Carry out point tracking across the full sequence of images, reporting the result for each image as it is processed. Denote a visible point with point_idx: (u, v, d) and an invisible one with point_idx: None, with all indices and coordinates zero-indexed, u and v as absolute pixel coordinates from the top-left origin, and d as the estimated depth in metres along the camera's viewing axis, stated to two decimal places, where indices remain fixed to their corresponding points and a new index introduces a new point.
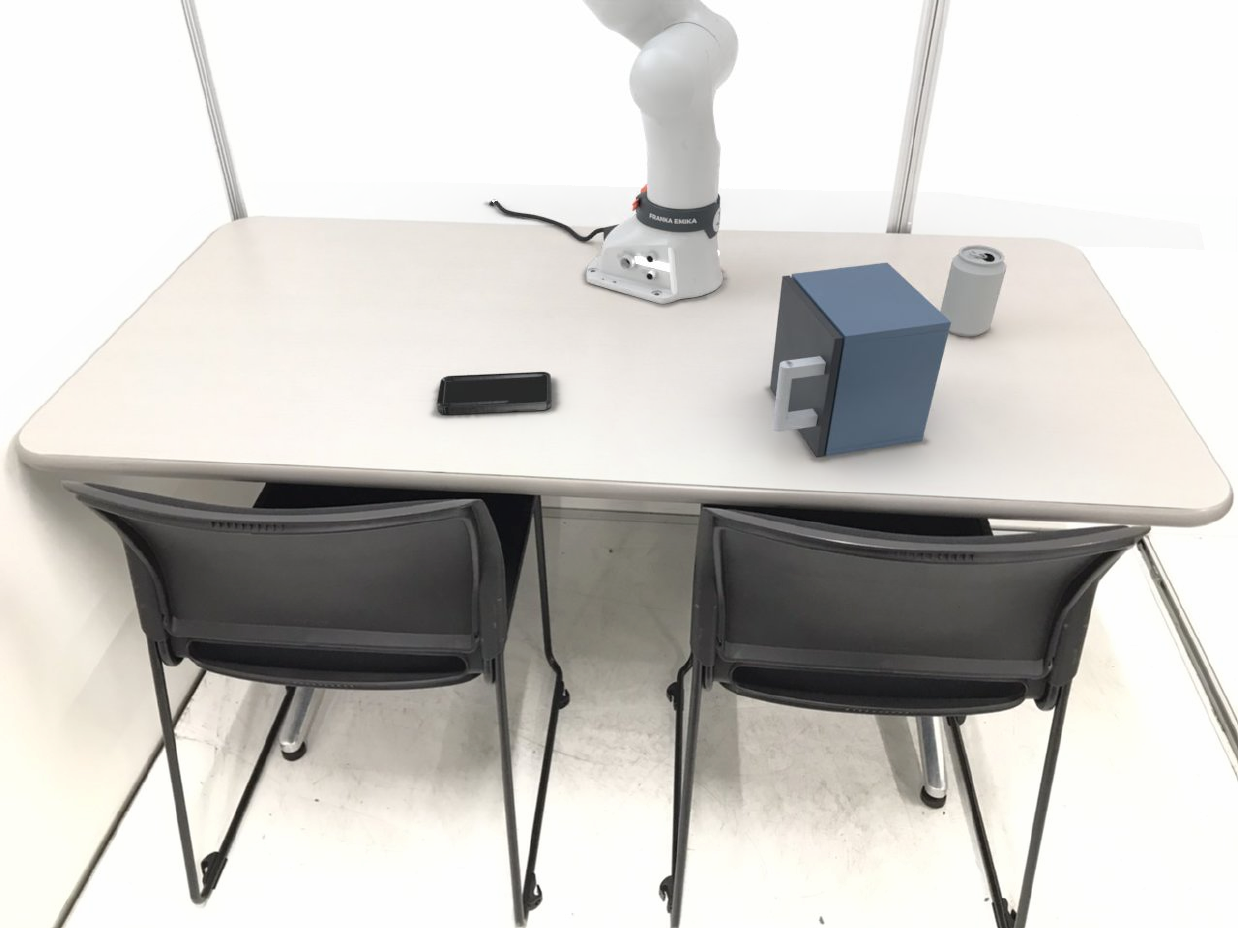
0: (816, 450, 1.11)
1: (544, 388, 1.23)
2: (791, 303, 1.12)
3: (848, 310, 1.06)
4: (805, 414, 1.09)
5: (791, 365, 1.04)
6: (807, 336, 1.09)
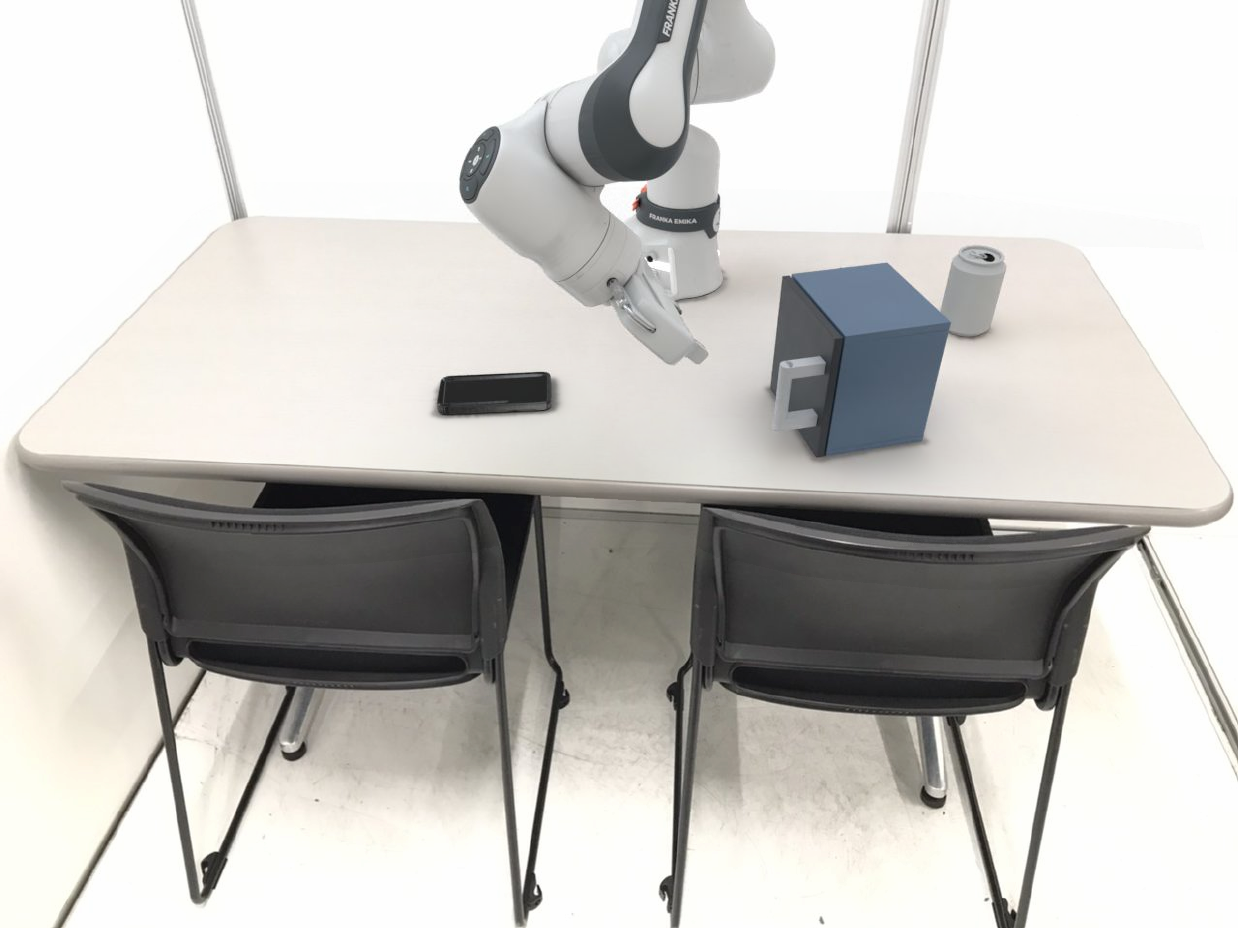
0: (816, 450, 1.11)
1: (544, 387, 1.23)
2: (791, 303, 1.12)
3: (848, 310, 1.06)
4: (805, 414, 1.09)
5: (791, 365, 1.04)
6: (807, 336, 1.09)
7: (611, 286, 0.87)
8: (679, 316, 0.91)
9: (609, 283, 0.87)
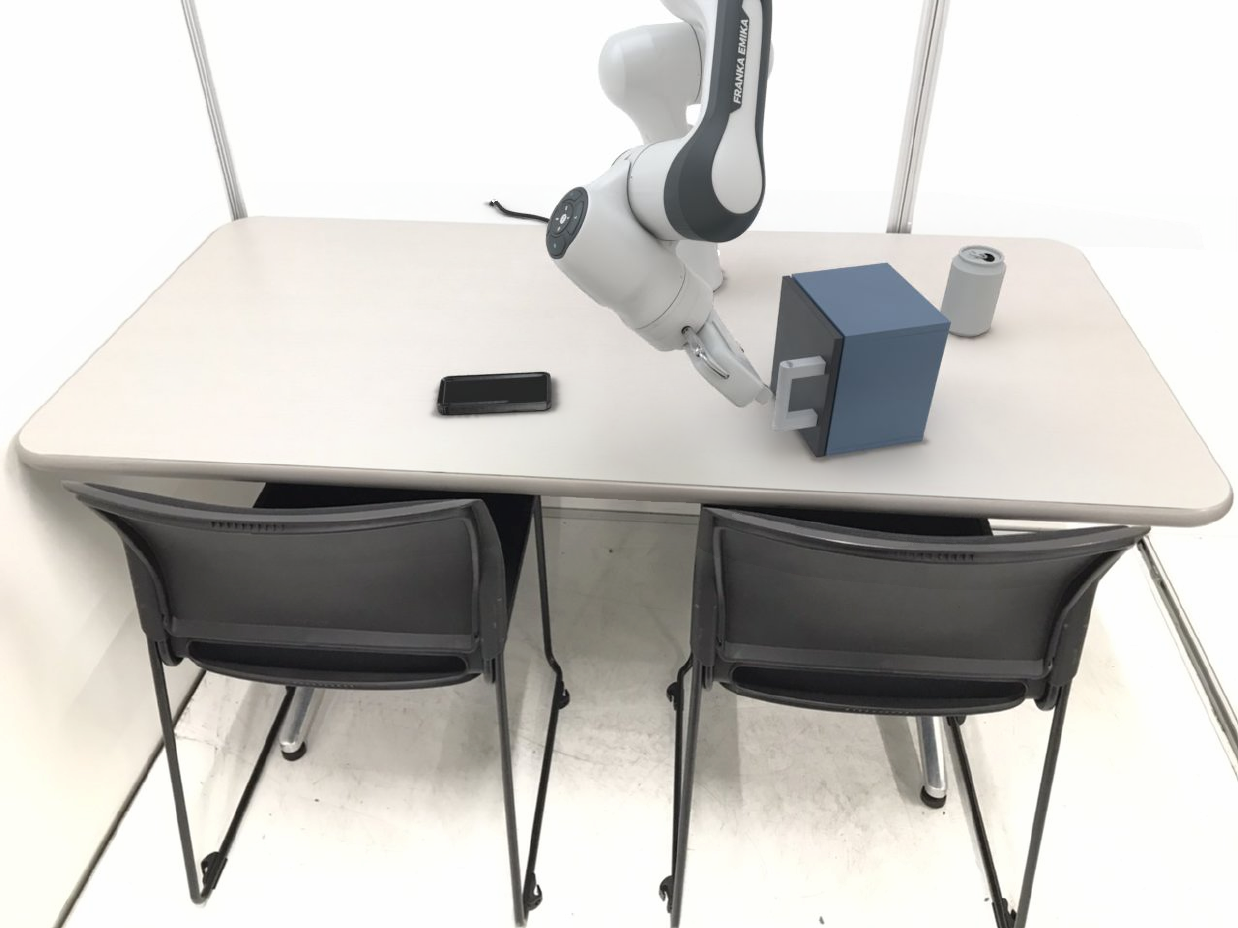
0: (816, 450, 1.11)
1: (544, 387, 1.23)
2: (791, 303, 1.12)
3: (848, 310, 1.06)
4: (805, 414, 1.09)
5: (791, 365, 1.04)
6: (807, 336, 1.09)
7: (686, 334, 0.92)
8: (747, 360, 0.96)
9: (684, 331, 0.93)
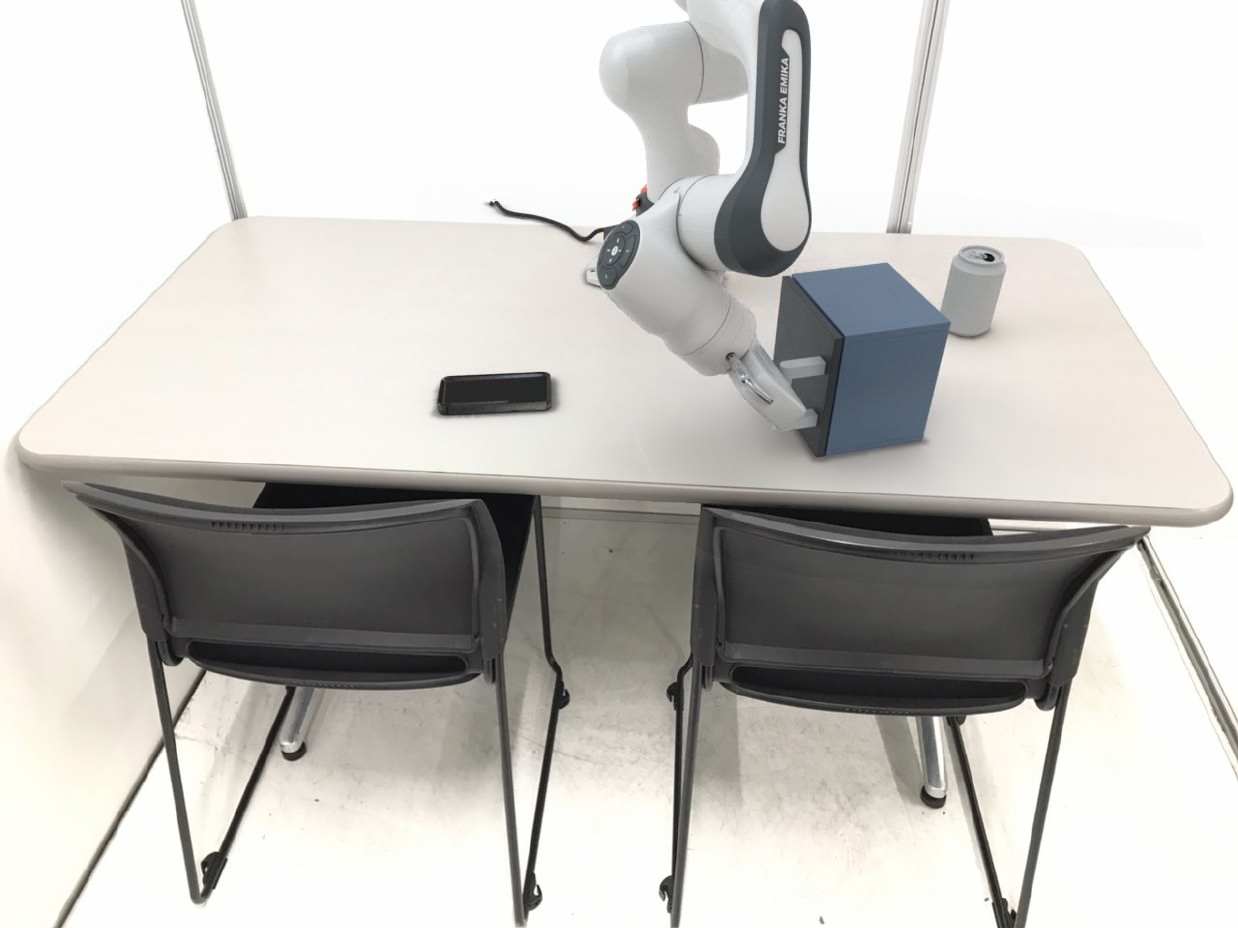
0: (816, 450, 1.11)
1: (544, 387, 1.23)
2: (791, 303, 1.12)
3: (848, 310, 1.06)
4: (805, 414, 1.09)
5: (791, 365, 1.04)
6: (807, 336, 1.09)
7: (731, 361, 0.95)
8: (788, 385, 1.00)
9: (728, 357, 0.96)
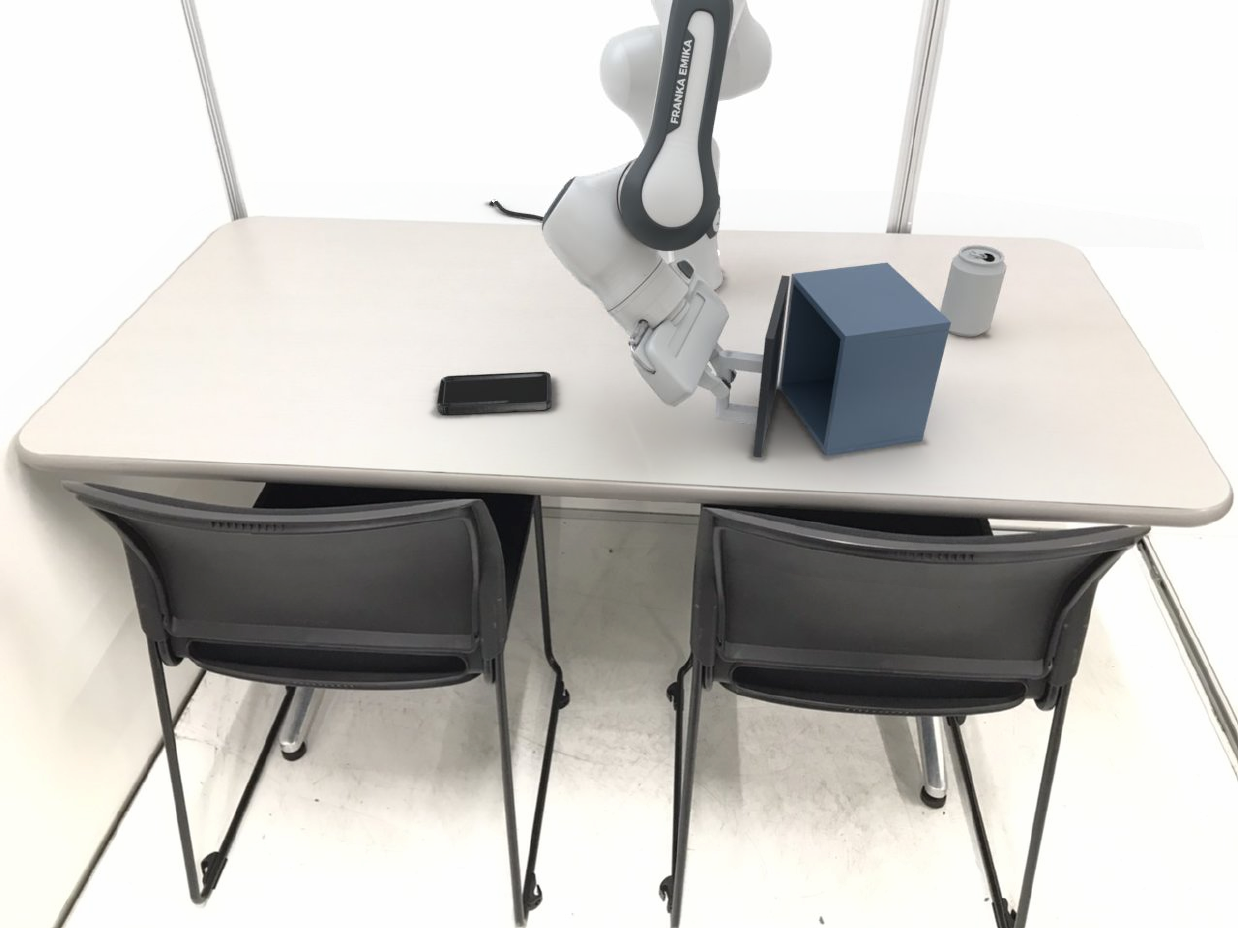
0: (754, 449, 1.12)
1: (544, 387, 1.23)
2: None
3: (848, 310, 1.06)
4: (747, 410, 1.10)
5: (728, 355, 1.06)
6: None
7: (637, 326, 1.01)
8: (697, 367, 1.03)
9: (638, 323, 1.02)
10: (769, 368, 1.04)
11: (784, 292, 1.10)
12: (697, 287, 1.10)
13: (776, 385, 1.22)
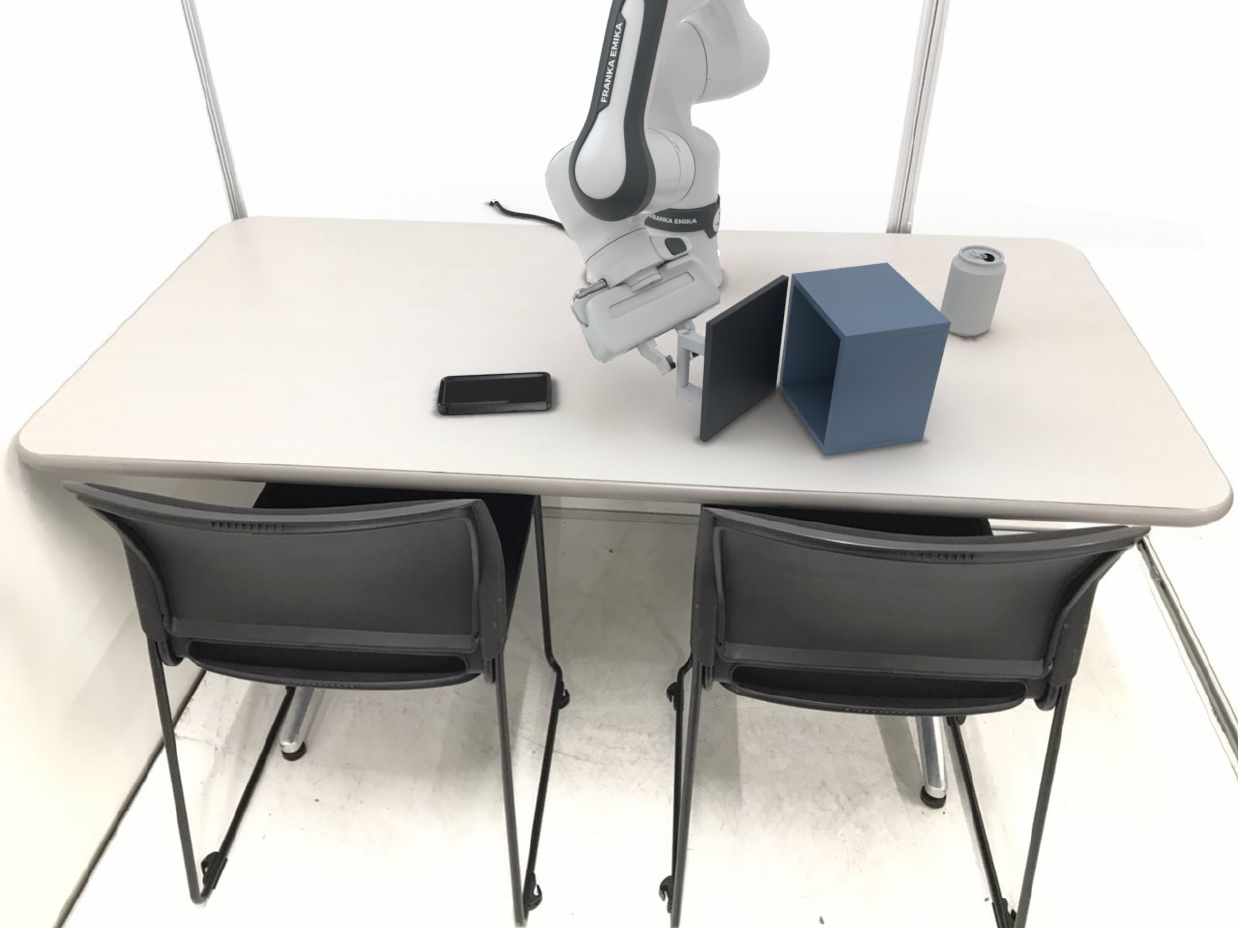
0: None
1: (544, 388, 1.23)
2: None
3: (848, 310, 1.06)
4: (701, 393, 1.13)
5: (684, 334, 1.10)
6: None
7: (594, 283, 1.10)
8: (636, 333, 1.09)
9: (598, 281, 1.11)
10: (709, 354, 1.06)
11: (767, 289, 1.11)
12: (688, 266, 1.15)
13: (770, 384, 1.22)
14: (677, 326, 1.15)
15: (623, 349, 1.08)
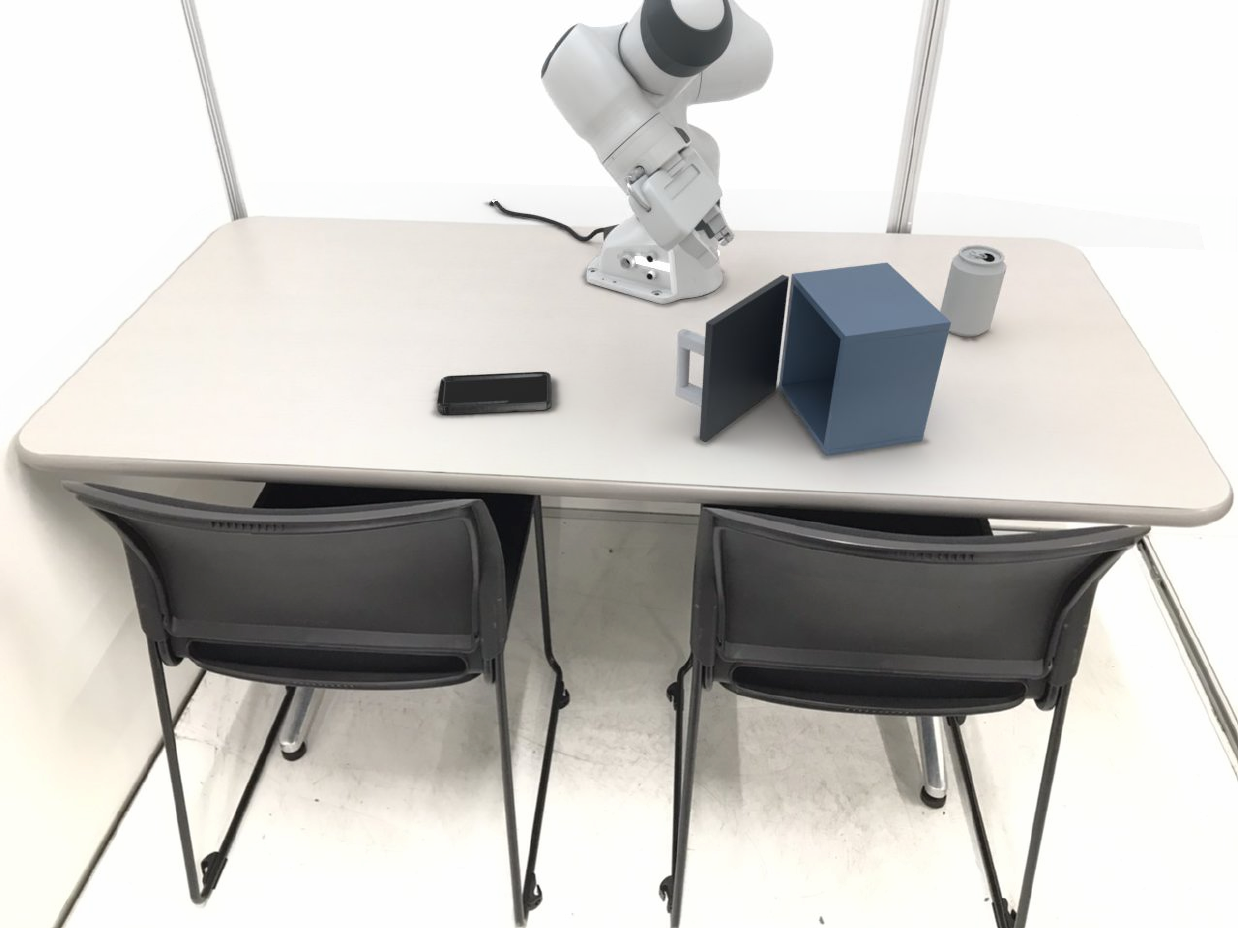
0: None
1: (544, 387, 1.23)
2: None
3: (848, 310, 1.06)
4: (701, 393, 1.13)
5: (684, 334, 1.10)
6: None
7: (633, 170, 1.01)
8: (692, 216, 1.01)
9: (634, 169, 1.01)
10: (709, 354, 1.06)
11: (767, 289, 1.11)
12: (692, 158, 1.11)
13: (770, 384, 1.22)
14: None
15: (691, 230, 1.00)
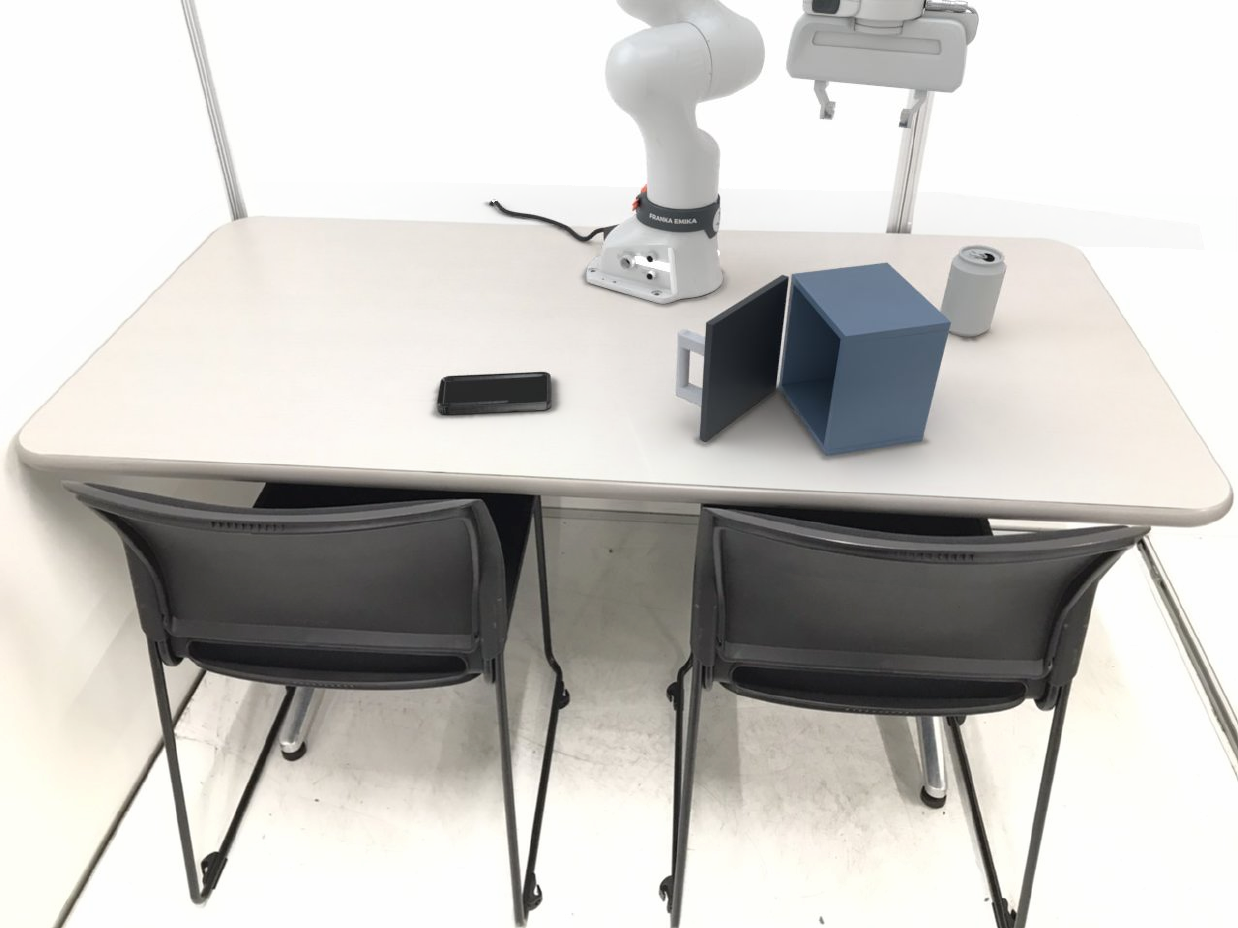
0: None
1: (544, 388, 1.23)
2: None
3: (848, 310, 1.06)
4: (701, 393, 1.13)
5: (684, 334, 1.10)
6: None
7: None
8: None
9: None
10: (709, 354, 1.06)
11: (767, 289, 1.11)
12: None
13: (770, 384, 1.22)
14: None
15: None
